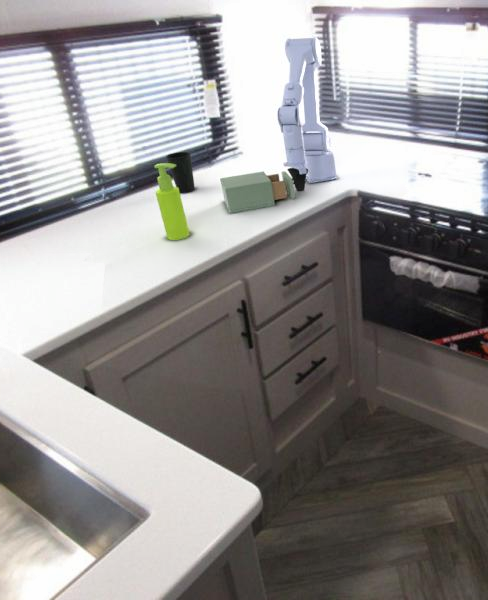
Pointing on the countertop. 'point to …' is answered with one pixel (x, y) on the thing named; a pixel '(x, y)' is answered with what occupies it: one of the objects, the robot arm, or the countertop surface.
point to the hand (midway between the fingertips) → (300, 191)
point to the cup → (182, 171)
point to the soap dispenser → (171, 205)
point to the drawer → (282, 186)
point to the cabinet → (247, 192)
